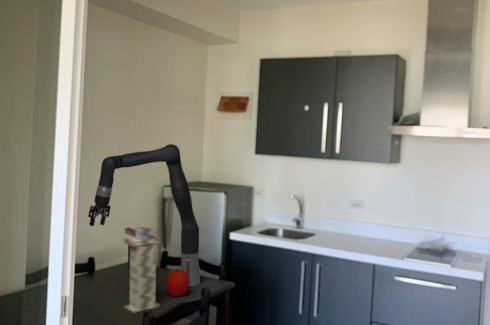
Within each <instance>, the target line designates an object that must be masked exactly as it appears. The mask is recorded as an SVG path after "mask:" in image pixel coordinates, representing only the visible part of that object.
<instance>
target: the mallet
mask: <svg viewBox="0 0 490 325" xmlns="http://www.w3.org/2000/svg"><path fill="white" fill-rule="evenodd" d="M124 234H125V235H129V236H131V237H136V239H137V240H140V241H143V240H151V239H153V236H154V228H153V227H151V226H141V227H135V228H132V227H125V228H124Z"/></svg>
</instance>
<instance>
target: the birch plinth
mask: <svg viewBox="0 0 490 325" xmlns="http://www.w3.org/2000/svg"><path fill="white" fill-rule="evenodd" d="M133 237H134V236H133ZM123 241H124V244H126V245H127V246H128V245H130V270H129V304H126V305H123V308H124V309H125V310H127V311H129V312H130V313H132V314H134V313H138V312H141V311H146V310H151V309H154V308H159V307H160V303H158V302H157V301H156V289H157V288H156V285H157V284H156V283H157V282H156V279H157V276H156V275H157V274H156V272H157V244H159V243H161V237H158V236H155V235H153V239H151V240H143V241H140V240H137V239H136V237H134V238H132V237H128V238H124V240H123Z"/></svg>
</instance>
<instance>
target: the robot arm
mask: <svg viewBox="0 0 490 325" xmlns="http://www.w3.org/2000/svg"><path fill="white" fill-rule="evenodd" d="M153 163H165V164H166V167H167V170H168V175H169V184H170V191H171V194H172V198H173V201H174V205H175V207H176V209H177V211H178V213H179V214H178V215H179V216H180V223H181V231H180V249H181V250H180V251H181V252H180V254H181V255H180V260H181V261H180V270H183V271H184V272H185V273H186V274H187V276H188V288H190V287H193V288H194V287H196V286H199V285H200V284H201V282H200V280H201V266H200V265H199V263H200V262H199V260H200V258H199V256H200V255H199V252H200V250H199V249H200V228H199V224H198V222H197V220H196V216H195V213H194V209H193V208H194V207H193V202H192V196H191V191H190V187H189V184H188V180H187V177H186V175H185V173H184V170H183V166H182V161H181V151H180V148H179V147H178V146H177V145H176V144H172V143H170V144H167V145H165V146H163V147H160V148H156V149H153V150H147V151H144V150H143V151H135V152H129V153H125V154H121V155H120V154H119V155H118V154H117V155H112V156H107V157H105V158H103V160H102V161H101V167H100V175H99V180H98V185H97V188H96V192H95V195H94V196H95V197H94V201H93V202H94V204H95V205H90V206H89V210H88V216H87V217H88V218H90V220H89V226H90V227H94V226H95V222H96V218H97V217H99V215H100V216H101V217H100V222H99V224H100V225H101V226H104V225H105V223H106V219H107V218H109V217H110V213H111V205H110V202H111V196H112V192H113V185H114V179H115V178H114V175H115V170H117V169H123V168H124V169H125V168H133V167H138V166H143V165H146V164H153Z"/></svg>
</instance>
